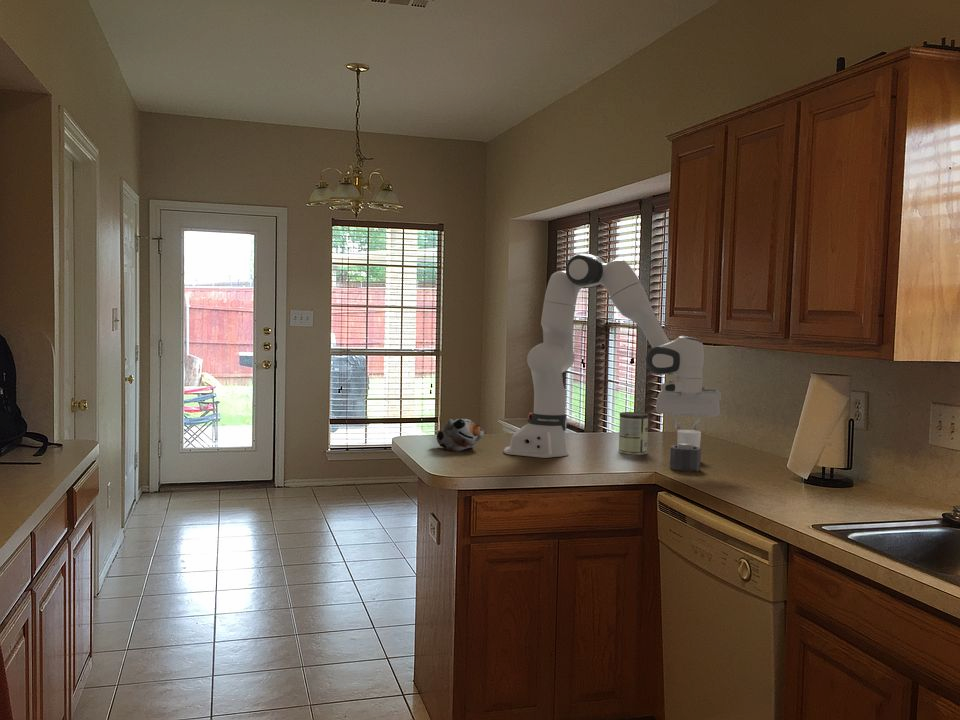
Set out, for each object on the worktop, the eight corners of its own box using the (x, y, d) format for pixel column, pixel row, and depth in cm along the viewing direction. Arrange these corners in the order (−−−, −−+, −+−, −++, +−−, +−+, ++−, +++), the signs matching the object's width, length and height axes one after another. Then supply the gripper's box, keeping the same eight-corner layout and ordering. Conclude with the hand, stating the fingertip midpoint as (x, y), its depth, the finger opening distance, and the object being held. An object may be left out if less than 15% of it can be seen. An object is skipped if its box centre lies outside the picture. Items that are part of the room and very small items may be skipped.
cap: (677, 457, 271) (677, 445, 270) (676, 454, 275) (677, 442, 275) (693, 458, 270) (693, 446, 269) (692, 455, 274) (692, 443, 274)
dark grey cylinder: (670, 470, 269) (671, 448, 269) (669, 465, 278) (670, 444, 278) (700, 472, 267) (701, 450, 267) (698, 467, 276) (699, 446, 276)
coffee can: (617, 449, 308) (618, 411, 307) (645, 450, 307) (647, 412, 306) (619, 454, 298) (620, 414, 297) (648, 455, 297) (650, 415, 296)
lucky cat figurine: (473, 445, 306) (487, 414, 300) (474, 463, 295) (488, 432, 289) (434, 433, 303) (447, 402, 297) (434, 451, 292) (448, 419, 286)
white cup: (700, 462, 285) (701, 433, 285) (676, 461, 287) (677, 432, 286) (699, 458, 293) (700, 430, 293) (675, 457, 295) (677, 429, 294)
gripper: (720, 387, 272) (718, 429, 273) (656, 384, 276) (654, 425, 277) (722, 388, 266) (720, 432, 267) (656, 385, 270) (655, 428, 271)
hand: (686, 428), depth 272 cm, fingers open, 4 cm apart
